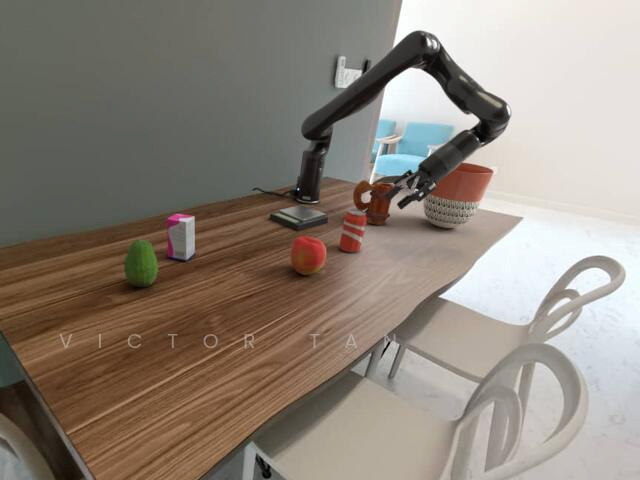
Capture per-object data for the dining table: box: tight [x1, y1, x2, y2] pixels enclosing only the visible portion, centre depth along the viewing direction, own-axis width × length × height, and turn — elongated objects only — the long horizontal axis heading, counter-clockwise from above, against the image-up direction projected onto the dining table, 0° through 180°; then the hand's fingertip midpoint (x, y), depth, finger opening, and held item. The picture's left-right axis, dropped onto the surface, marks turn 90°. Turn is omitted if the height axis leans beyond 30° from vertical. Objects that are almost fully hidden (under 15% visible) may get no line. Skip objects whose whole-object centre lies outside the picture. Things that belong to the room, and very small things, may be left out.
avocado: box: [123, 238, 159, 288], centre depth 93 cm, size 8×8×12 cm
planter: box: [422, 161, 495, 229], centre depth 142 cm, size 20×20×21 cm
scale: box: [269, 211, 329, 232], centre depth 143 cm, size 14×16×2 cm
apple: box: [290, 235, 327, 276], centre depth 104 cm, size 10×10×10 cm
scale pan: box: [278, 204, 326, 222], centre depth 143 cm, size 12×12×1 cm
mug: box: [352, 179, 396, 226], centre depth 142 cm, size 15×8×15 cm, turn 84°
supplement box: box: [166, 213, 196, 263], centre depth 108 cm, size 6×6×12 cm
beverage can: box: [338, 208, 368, 253], centre depth 119 cm, size 6×6×12 cm
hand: (392, 202), depth 116 cm, fingers open, 8 cm apart
